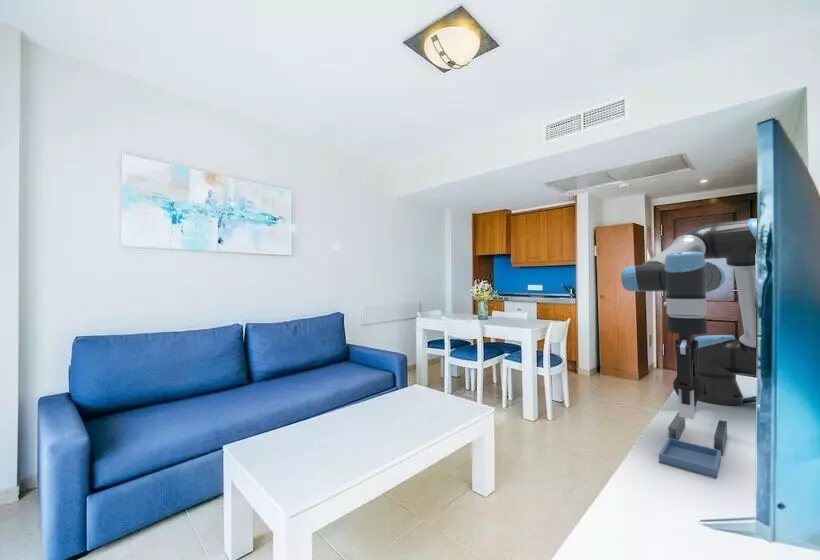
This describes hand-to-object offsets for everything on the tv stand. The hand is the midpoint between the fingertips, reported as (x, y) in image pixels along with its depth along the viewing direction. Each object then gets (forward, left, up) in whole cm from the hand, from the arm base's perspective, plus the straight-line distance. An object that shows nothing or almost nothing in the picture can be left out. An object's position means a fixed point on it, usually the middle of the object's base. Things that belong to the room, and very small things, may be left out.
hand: (688, 414), depth 82 cm
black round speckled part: (0, 0, -1) cm, 1 cm away
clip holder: (-5, -16, -11) cm, 20 cm away
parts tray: (0, 0, -11) cm, 11 cm away
